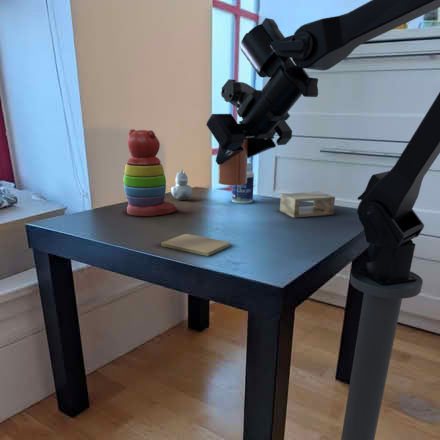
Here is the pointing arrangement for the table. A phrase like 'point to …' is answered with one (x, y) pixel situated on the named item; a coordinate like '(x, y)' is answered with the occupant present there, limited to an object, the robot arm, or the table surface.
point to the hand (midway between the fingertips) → (227, 161)
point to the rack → (320, 206)
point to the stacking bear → (145, 176)
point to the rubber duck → (181, 187)
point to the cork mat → (196, 244)
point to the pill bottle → (244, 189)
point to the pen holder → (235, 168)
